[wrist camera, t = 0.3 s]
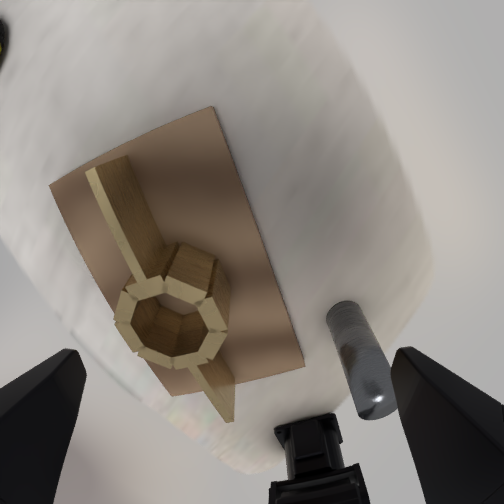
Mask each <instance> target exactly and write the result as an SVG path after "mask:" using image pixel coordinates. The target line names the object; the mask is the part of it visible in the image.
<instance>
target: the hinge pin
mask: <svg viewBox="0 0 504 504" xmlns="http://www.w3.org/2000/svg"><path fill="white" fill-rule="evenodd" d="M327 324H328V327H329V329H330V332H331V335H332V338H333V341H334V344H335V347H336V349H337V352H338V355H339V358H340V361H341V364H342V367H343V370H344V373H345V376H346V379H347V382H348V385H349V388H350V391H351V394H352V397H353V400H354V403H355V406H356V410H357V412H358V416H359V417H360V418H362V419H364V420H376V419H380V418H383V417H385V416H387V415H389V414H391V413H392V412H394V411H395V410H396V409H397V408H398V407H397V402H396V398H395V394H394V389H393V385H392V381H391V377H390V371H391V367H390V365H389V363H388V361H387V359H386V357H385V355H384V353H383V351H382V349H381V347H380V345H379V343H378V341H377V339H376V337H375V335H374V333H373V331H372V329H371V327H370V326H369V324H368V322H367V320H366V318H365V316H364V314H363V312H362V310H361V308H360V307H359V305H358V304H356V303H355V302H352V301H343V302H340V303H338V304H336V305H334V306H333V307H332V308H331V309H330V310H329V312H328V314H327Z"/></svg>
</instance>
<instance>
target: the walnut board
mask: <svg viewBox="0 0 504 504" xmlns="http://www.w3.org/2000/svg"><path fill="white" fill-rule="evenodd" d="M125 155H127V156H128V158H129V161H130V163H131V166H132V168H133V171H134V173H135V175H136V178H137V180H138V183H139V185H140V187H141V190H142V192H143V194H144V197H145V199H146V201H147V204H148V206H149V208H150V210H151V213H152V215H153V217H154V219H155V222H156V224H157V226H158V228H159V231H160V233H161V235H162V237H163V239H164V241H165V244H166V245H168V244H171V243H174V242H177V241H178V244H179V246H181V244H182V242H185V243H187V244H190V245H192V246H194V247H197V248H199V249H201V250H204V251H206V252H208V253H210V254H213V255H215V257H214V260H217V259H219V261H220V263H221V266H222V268H223V270H224V273H225V275H226V277H227V280H228V282H229V284H230V287H231V296H230V309H229V322H228V334H227V336H226V338H225V340H224V341H223V343H222V345H221V347H220V348H219V350H220V352H221V354H222V356H223V358H224V359H225V361H226V363H227V365H228V367H229V368H230V370H231V372H232V374H233V375H234V377H235V384H239V383H244V382H248V381H252V380H256V379H261V378H265V377H269V376H272V375H276V374H280V373H284V372H288V371H291V370H295V369H298V368H302V367H305V363H304V358H303V355H302V352H301V349H300V346H299V344H298V341H297V338H296V335H295V332H294V329H293V326H292V323H291V321H290V318H289V315H288V312H287V309H286V306H285V303H284V301H283V298H282V295H281V292H280V289H279V286H278V283H277V281H276V278H275V275H274V272H273V269H272V267H271V264H270V261H269V258H268V255H267V252H266V250H265V247H264V244H263V241H262V239H261V236H260V233H259V230H258V227H257V225H256V222H255V219H254V216H253V213H252V211H251V208H250V205H249V202H248V200H247V197H246V194H245V191H244V189H243V186H242V183H241V180H240V178H239V175H238V172H237V170H236V167H235V164H234V161H233V159H232V156H231V153H230V151H229V148H228V145H227V142H226V140H225V137H224V134H223V132H222V129H221V126H220V124H219V121H218V118H217V116H216V113H215V110H214V107H212V106H210V107H208V108H205V109H202V110H200V111H197V112H195V113H192V114H190V115H187V116H185V117H182V118H180V119H177V120H175V121H173V122H170V123H168V124H166V125H163V126H161V127H159V128H157V129H154V130H152V131H150V132H148V133H145V134H143V135H141V136H139V137H137V138H135V139H133V140H131V141H129V142H127V143H124V144H122V145H120V146H118V147H116V148H114V149H113V150H111V151H109V152H107V153H105V154H103V155H101V156H99V157H97V158H95V159H93V160H92V161H90V162H88V163H86V164H84V165H83V166H81V167H79V168H77V169H75V170H74V171H72V172H70V173H69V174H67V175H65V176H63V177H62V178H60V179H58V180H57V181H55V182H54V183H52V184H50V185H49V187H50V189H51V192H52V194H53V196H54V199H55V201H56V203H57V206H58V208H59V210H60V212H61V214H62V217H63V219H64V221H65V223H66V225H67V227H68V229H69V231H70V234H71V236H72V238H73V240H74V242H75V244H76V246H77V248H78V250H79V251H80V253H81V255H82V257H83V259H84V261H85V263H86V265H87V267H88V269H89V270H90V272H91V274H92V276H93V278H94V279H95V281H96V283H97V285H98V287H99V288H100V290H101V292H102V293H103V295H104V297H105V299H106V300H107V302H108V304H109V305H110V307H111V309H112V310H113V312H114V314H115V312H116V308H117V304H118V301H119V297H120V294H121V290H122V289H123V287H124V286H125V284H126V282H127V281H128V279H129V278H130V276H131V275H132V272H131V270H130V268H129V266H128V264H127V262H126V260H125V258H124V256H123V254H122V252H121V250H120V248H119V246H118V244H117V242H116V240H115V238H114V236H113V234H112V232H111V230H110V228H109V226H108V224H107V222H106V219H105V217H104V215H103V213H102V211H101V209H100V206H99V204H98V202H97V200H96V197H95V195H94V193H93V190H92V188H91V186H90V183H89V181H88V179H87V176H86V174H85V172H86V171H88V170H90V169H92V168H94V167H96V166H98V165H101V164H103V163H106V162H109V161H111V160H114V159H117V158H119V157H122V156H125ZM156 298H157V300H158V301H159V303H160V305H161V306H163V307H166V308H168V309H171V310H173V311H175V312H178V313H180V314H183V315H185V314H188V313H192V312H195V311H198V309H197V307H196V305H193V304H191V303H188V302H186V301H183V300H181V299H179V298H176V297H174V296H172V295H169V294H167V293H162V294H159V295H156ZM145 361H146V362H147V364H148V365H149V366H150V368H151V369H152V371H153V372H154V373H155V375H156V376H157V377H158V379H159V380H160V382H161V383H162V384H163V386H164V387H165V388H166V390H167V391H168V392H169V393H170V395H171V396H178V395H184V394H190V393H195V392H201V391H203V390H202V388H201V387H200V385H199V384H198V382H197V381H196V379H195V378H194V376H193V375H192V373H191V372H190V370H189V369H188V367H187V368H182V369H177V370H176V369H175V367H174V366H173V365H172V367H171V369H169V368H166V367H164V366H161V365H159V364H156V363H154V362H151V361H149V360H146V359H145Z"/></svg>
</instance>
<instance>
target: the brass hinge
mask: <svg viewBox="0 0 504 504" xmlns="http://www.w3.org/2000/svg"><path fill="white" fill-rule="evenodd" d="M85 174H86V176H87V179H88V181H89V183H90V186H91V188H92V190H93V193H94V195H95V197H96V200H97V202H98V204H99V206H100V209H101V211H102V213H103V215H104V217H105V219H106V222H107V224H108V226H109V228H110V230H111V232H112V234H113V236H114V238H115V240H116V242H117V244H118V246H119V248H120V250H121V252H122V254H123V256H124V258H125V260H126V262H127V264H128V266H129V268H130V270H131V272H132V275H131V276H130V278H129V279H128V281H127V282H126V284H125V286H124V287H123V289H122V290H121V294H120V297H119V301H118V304H117V308H116V312H115V315H114V319H113V320H115V321H116V322H115V324H114V325H115V326H116V328H117V329H118V331H119V332H120V334H121V335H122V337H123V339H124V340H125V341H126V343H127V344H128V346H129V347H130V349H131V350H132V352H137V351H139V352H138V355H137V356H139V357H141V358H144V359H146V360H149V361H151V362H154V363H156V364H159V365H161V366H164V367H166V368H169V369H171V367H172V365H173V366H174V367H175V369H176V370H177V369H182V368H187V367H188V369H189V370H190V372H191V373H192V375H193V376H194V378H195V379H196V381H197V382H198V384H199V385H200V387H201V388H202V390H203V391H204V393H205V394H206V395H207V397H208V398H209V400H210V401H211V403H212V404H213V405H214V407H215V408H216V410H217V411H218V412H219V414H220V415H221V417H222V418H223V419H224V421H225V422H226V423H229V422H234V403H235V377H234V375H233V374H232V372H231V370H230V368H229V367H228V365H227V363H226V361H225V359H224V358H223V356H222V354H221V352H220V350H219V348H220V347H221V345H222V343H223V341H224V340H225V338H226V336H227V334H228V322H229V309H230V296H231V287H230V284H229V282H228V280H227V277H226V275H225V273H224V270H223V268H222V266H221V263H220V261H219V259H217V260H214V257H215V255H213V254H210V253H208V252H206V251H204V250H201V249H199V248H197V247H194V246H192V245H190V244H187V243H185V242H182V244H181V246H179V244H178V241H177V242H174V243H171V244H168V245H166V244H165V241H164V239H163V237H162V235H161V233H160V231H159V228H158V226H157V224H156V222H155V219H154V217H153V215H152V213H151V210H150V208H149V206H148V204H147V201H146V199H145V197H144V194H143V192H142V190H141V187H140V185H139V183H138V180H137V178H136V175H135V173H134V171H133V168H132V166H131V163H130V161H129V158H128V156H127V155H125V156H122V157H119V158H117V159H114V160H111V161H109V162H106V163H103V164H101V165H98V166H96V167H94V168H92V169H90V170H88V171H86V172H85ZM162 293H167V294H169V295H172V296H174V297H176V298H179V299H181V300H183V301H186V302H188V303H191V304H193V305H196V307H197V309H198V311H195V312H192V313H188V314H185V315H183V314H180V313H178V312H175V311H173V310H171V309H168V308H166V307H163V306H161V305H160V303H159V301H158V300H157V298H156V295H159V294H162Z"/></svg>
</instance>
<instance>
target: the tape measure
mask: <svg viewBox="0 0 504 504" xmlns="http://www.w3.org/2000/svg"><path fill="white" fill-rule="evenodd" d="M3 44H4V27H3V24H2V23H1V21H0V54H1V51H2V48H3Z"/></svg>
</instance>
